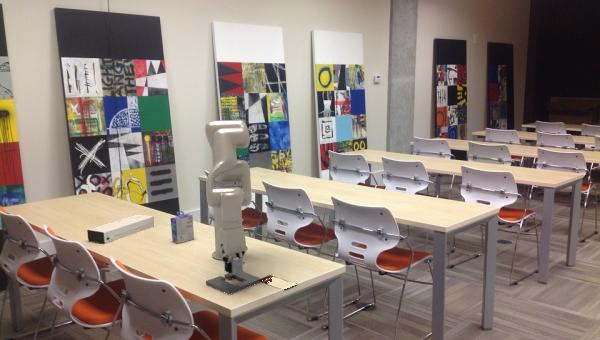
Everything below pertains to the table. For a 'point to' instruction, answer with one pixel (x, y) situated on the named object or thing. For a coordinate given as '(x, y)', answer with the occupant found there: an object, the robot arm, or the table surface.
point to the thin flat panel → (271, 281)
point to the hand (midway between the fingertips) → (233, 270)
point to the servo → (236, 264)
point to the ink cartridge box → (182, 227)
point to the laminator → (120, 228)
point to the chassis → (230, 288)
